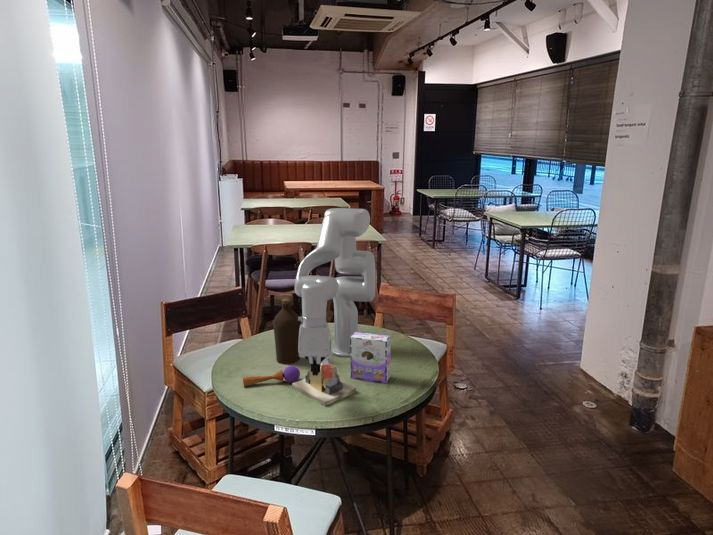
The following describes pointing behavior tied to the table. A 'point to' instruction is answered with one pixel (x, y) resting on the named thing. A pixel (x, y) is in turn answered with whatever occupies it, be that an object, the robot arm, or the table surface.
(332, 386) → the pipe and valve body
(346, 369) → the table surface
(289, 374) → the kendama
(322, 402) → the mounting board
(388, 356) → the candy box
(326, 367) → the lever
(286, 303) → the olive oil
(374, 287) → the robot arm
